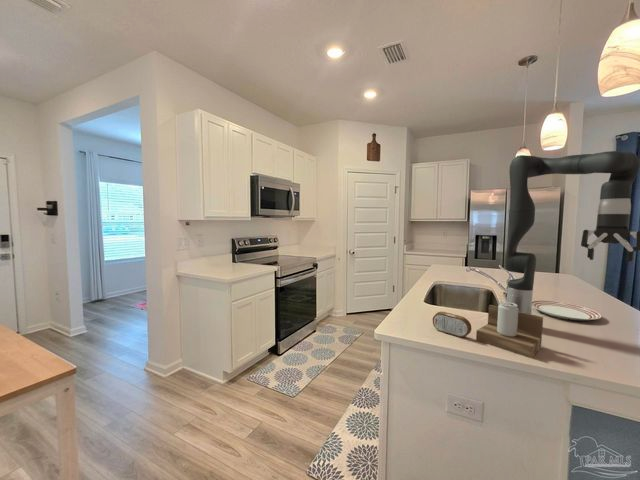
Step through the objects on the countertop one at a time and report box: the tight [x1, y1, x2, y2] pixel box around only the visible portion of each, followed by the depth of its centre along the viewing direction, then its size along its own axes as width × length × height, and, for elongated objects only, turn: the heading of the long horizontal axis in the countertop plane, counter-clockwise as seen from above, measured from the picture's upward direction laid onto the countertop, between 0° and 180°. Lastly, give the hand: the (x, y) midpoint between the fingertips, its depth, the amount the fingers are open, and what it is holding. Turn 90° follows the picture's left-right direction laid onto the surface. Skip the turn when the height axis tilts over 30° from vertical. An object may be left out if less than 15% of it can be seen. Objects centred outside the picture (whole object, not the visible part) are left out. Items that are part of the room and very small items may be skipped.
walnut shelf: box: [475, 304, 544, 359], centre depth 107 cm, size 12×18×12 cm, turn 39°
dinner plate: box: [532, 299, 603, 321], centre depth 142 cm, size 28×27×3 cm
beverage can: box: [497, 301, 519, 337], centre depth 107 cm, size 6×6×12 cm
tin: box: [432, 311, 472, 338], centre depth 117 cm, size 15×3×8 cm, turn 45°
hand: (608, 261), depth 94 cm, fingers open, 8 cm apart
